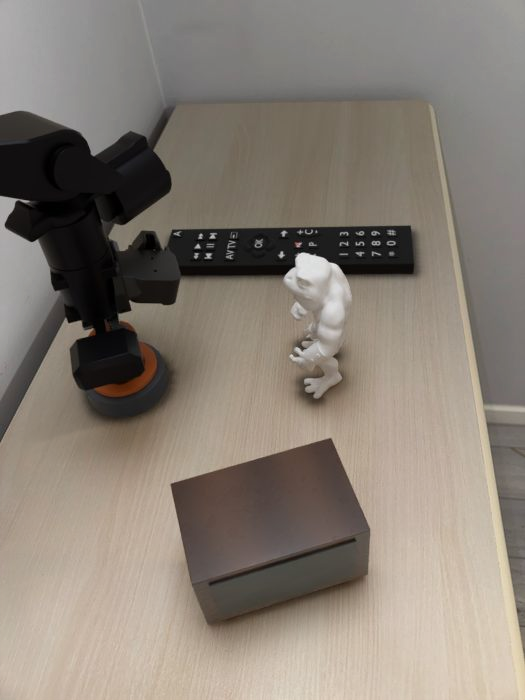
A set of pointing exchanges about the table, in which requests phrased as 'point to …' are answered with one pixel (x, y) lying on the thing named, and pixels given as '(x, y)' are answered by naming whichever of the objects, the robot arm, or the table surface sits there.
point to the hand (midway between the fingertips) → (119, 364)
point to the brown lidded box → (271, 530)
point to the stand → (134, 401)
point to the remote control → (292, 249)
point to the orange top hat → (133, 383)
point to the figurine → (320, 316)
